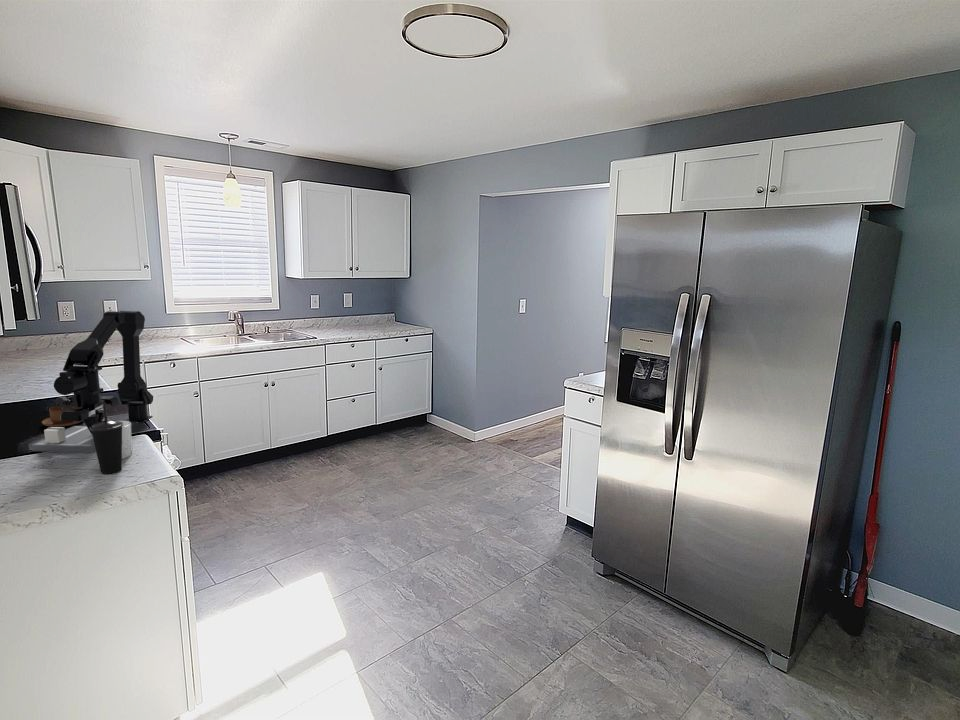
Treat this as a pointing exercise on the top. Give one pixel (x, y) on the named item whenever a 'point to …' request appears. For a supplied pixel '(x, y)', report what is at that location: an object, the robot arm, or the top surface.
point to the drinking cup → (108, 444)
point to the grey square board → (70, 442)
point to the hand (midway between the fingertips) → (93, 433)
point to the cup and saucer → (58, 418)
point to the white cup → (126, 439)
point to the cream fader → (55, 435)
